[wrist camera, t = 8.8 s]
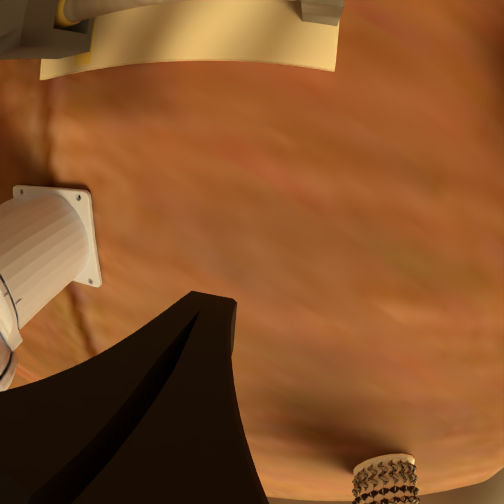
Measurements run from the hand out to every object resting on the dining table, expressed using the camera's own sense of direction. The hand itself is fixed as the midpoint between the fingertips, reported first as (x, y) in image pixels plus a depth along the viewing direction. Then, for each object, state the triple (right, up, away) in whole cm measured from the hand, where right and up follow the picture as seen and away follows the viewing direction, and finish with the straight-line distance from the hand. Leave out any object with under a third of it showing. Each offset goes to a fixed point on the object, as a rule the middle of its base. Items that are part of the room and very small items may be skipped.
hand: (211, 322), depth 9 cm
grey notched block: (-10, +18, +5) cm, 21 cm away
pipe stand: (-4, +17, +4) cm, 18 cm away
